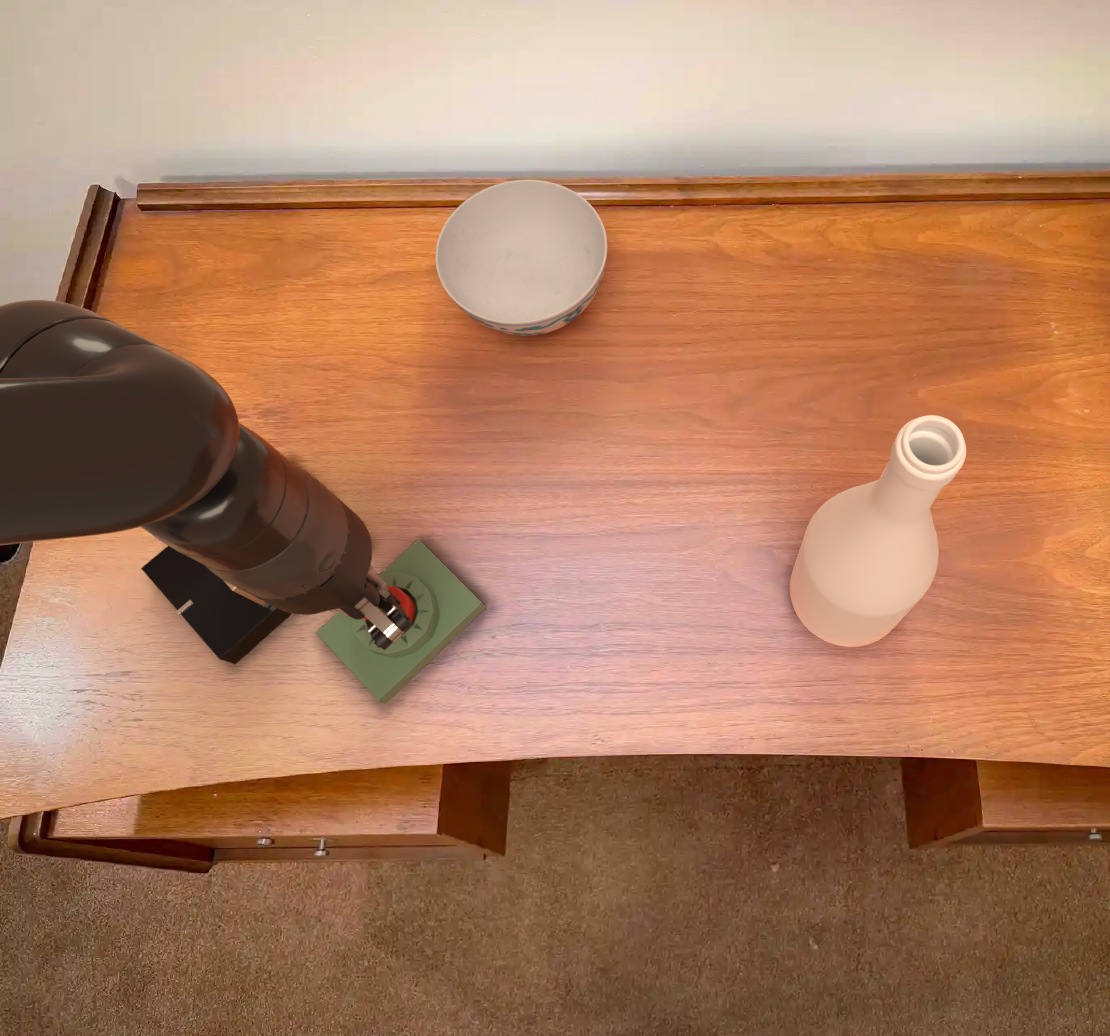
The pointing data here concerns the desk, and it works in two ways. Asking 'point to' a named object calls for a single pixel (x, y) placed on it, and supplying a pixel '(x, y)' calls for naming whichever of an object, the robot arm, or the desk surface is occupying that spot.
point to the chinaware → (522, 256)
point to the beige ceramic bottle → (877, 540)
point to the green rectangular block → (434, 626)
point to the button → (403, 602)
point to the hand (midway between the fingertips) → (385, 606)
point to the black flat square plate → (212, 605)
